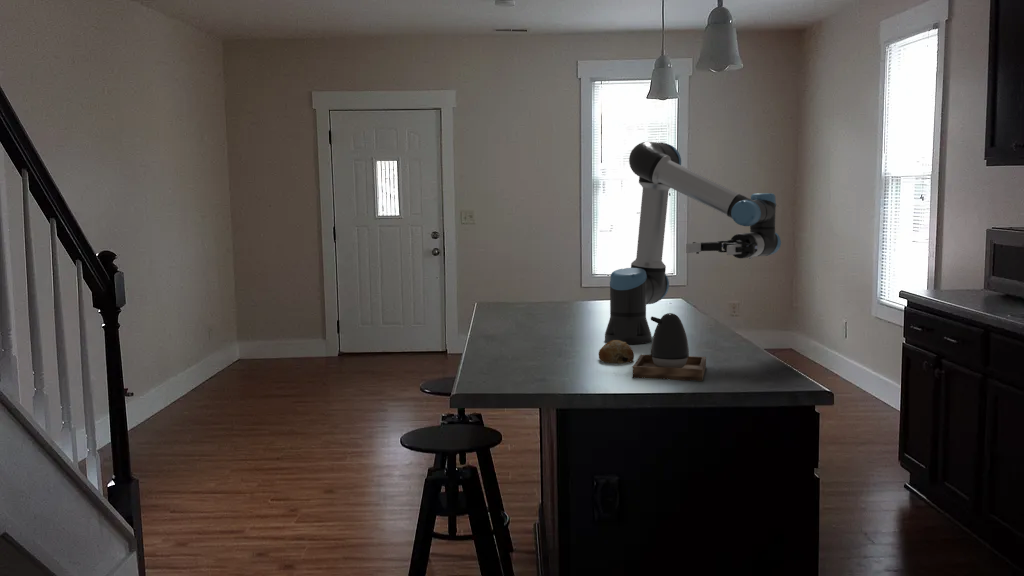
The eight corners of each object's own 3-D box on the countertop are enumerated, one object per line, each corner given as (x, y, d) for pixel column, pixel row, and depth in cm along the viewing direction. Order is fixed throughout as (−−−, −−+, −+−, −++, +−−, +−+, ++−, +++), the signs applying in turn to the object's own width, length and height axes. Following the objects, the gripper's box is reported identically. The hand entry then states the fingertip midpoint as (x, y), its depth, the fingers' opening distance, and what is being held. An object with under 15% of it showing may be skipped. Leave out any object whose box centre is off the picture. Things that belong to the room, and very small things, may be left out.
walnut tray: (632, 377, 233) (632, 366, 232) (640, 364, 250) (640, 354, 250) (702, 381, 228) (702, 369, 228) (705, 367, 245) (706, 356, 245)
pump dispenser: (646, 365, 244) (646, 311, 242) (683, 364, 244) (683, 310, 243) (654, 373, 234) (655, 316, 232) (693, 372, 234) (694, 315, 233)
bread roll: (607, 377, 252) (613, 354, 248) (589, 356, 260) (595, 333, 256) (635, 373, 256) (642, 350, 253) (617, 353, 264) (624, 331, 260)
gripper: (783, 259, 260) (745, 264, 245) (710, 255, 278) (671, 260, 263) (784, 234, 259) (746, 237, 244) (710, 232, 277) (671, 235, 262)
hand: (707, 249), depth 254 cm, fingers open, 13 cm apart
